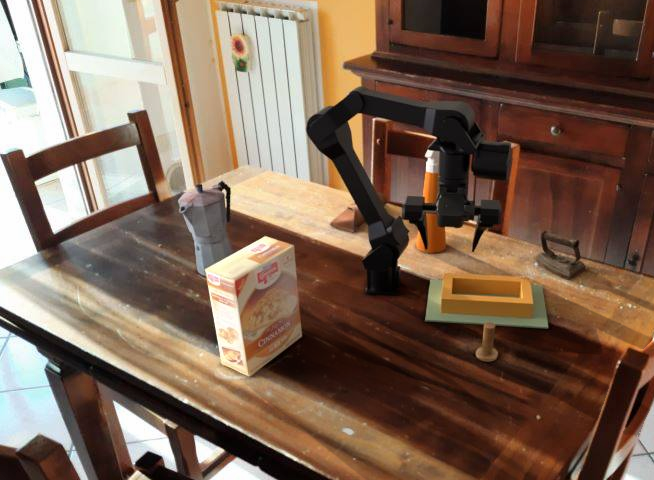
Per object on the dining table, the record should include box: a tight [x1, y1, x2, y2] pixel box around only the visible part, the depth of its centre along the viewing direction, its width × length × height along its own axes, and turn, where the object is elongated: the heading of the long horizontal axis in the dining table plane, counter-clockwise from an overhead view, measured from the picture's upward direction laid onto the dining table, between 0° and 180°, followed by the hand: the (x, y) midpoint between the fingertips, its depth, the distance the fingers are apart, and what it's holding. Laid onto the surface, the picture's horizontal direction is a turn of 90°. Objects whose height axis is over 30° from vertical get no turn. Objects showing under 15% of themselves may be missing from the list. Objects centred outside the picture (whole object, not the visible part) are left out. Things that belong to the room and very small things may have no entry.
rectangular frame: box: [441, 272, 533, 318], centre depth 133 cm, size 18×10×3 cm, turn 84°
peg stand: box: [475, 322, 499, 363], centre depth 118 cm, size 4×4×7 cm
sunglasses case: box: [329, 192, 388, 233], centre depth 169 cm, size 18×7×7 cm
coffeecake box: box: [205, 235, 303, 377], centre depth 115 cm, size 15×7×20 cm, turn 148°
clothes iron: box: [535, 230, 587, 280], centre depth 146 cm, size 7×11×10 cm, turn 47°
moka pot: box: [177, 180, 235, 277], centre depth 141 cm, size 10×15×20 cm, turn 158°
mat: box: [424, 279, 549, 330], centre depth 134 cm, size 24×16×1 cm, turn 84°
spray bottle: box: [416, 149, 447, 254], centre depth 150 cm, size 7×11×26 cm, turn 148°
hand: (449, 250), depth 130 cm, fingers open, 9 cm apart
